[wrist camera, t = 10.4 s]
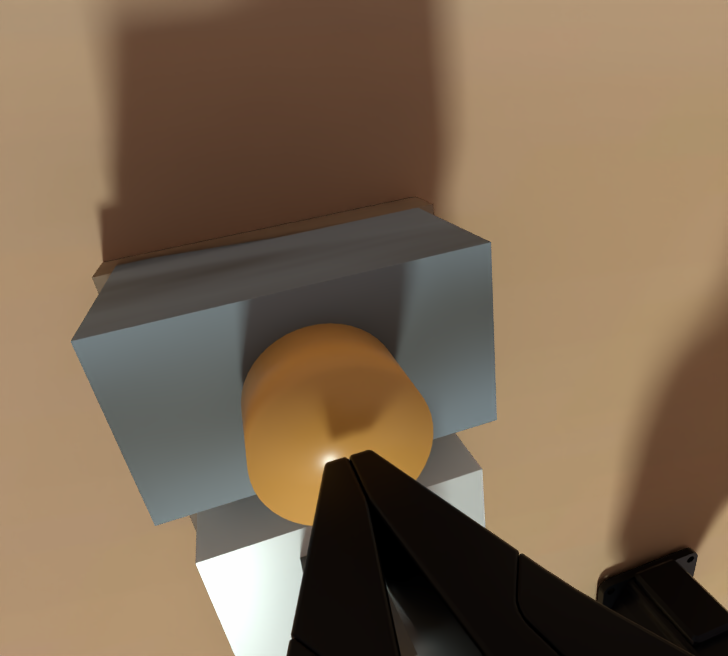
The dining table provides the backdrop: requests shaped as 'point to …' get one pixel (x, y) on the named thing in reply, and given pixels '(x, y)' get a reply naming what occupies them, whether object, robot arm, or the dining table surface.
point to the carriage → (298, 555)
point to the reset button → (327, 414)
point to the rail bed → (278, 335)
